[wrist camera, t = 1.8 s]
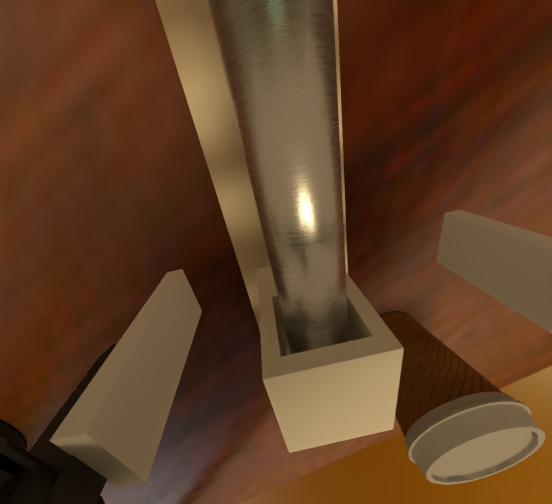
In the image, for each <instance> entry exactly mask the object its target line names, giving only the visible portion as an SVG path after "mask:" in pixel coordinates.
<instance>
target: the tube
mask: <svg viewBox="0 0 552 504" xmlns="http://www.w3.org/2000/svg"><path fill="white" fill-rule="evenodd" d="M208 4H209V8H210V13H211V17H212V21H213V25H214V30H215V34H216V38H217V42H218V46H219V51H220V55H221V59H222V63H223V68H224V72H225V76H226V80H227V84H228V89H229V93H230V97H231V101H232V106H233V110H234V114H235V118H236V122H237V127H238V131H239V135H240V139H241V144H242V148H243V152H244V156H245V160H246V165H247V169H248V173H249V177H250V182H251V186H252V190H253V194H254V198H255V203H256V207H257V211H258V215H259V220H260V224H261V228H262V232H263V236H264V241H265V245H266V249H267V253H268V258H269V262H270V266H271V270H272V274H273V279H274V283H275V287H276V291H277V296H278V300H279V304H280V308H281V312H282V317H283V321H284V325H285V329H286V334H287V338H288V342H289V346H290V350H291V354H295V353H300V352H304V351H309V350H313V349H318V348H322V347H326V346H331V345H335V344H340V343H344V342H349V335H348V313H347V291H346V269H345V247H344V226H343V204H342V182H341V160H340V138H339V116H338V94H337V73H336V51H335V29H334V7H333V0H208Z"/></svg>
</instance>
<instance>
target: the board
mask: <svg viewBox="0 0 552 504" xmlns="http://www.w3.org/2000/svg"><path fill="white" fill-rule="evenodd" d="M155 1H156V4H157V7H158V10H159V14H160V17H161V20H162V23H163V26H164V29H165V33H166V36H167V39H168V42H169V45H170V48H171V51H172V55H173V58H174V61H175V64H176V67H177V70H178V74H179V77H180V80H181V83H182V86H183V89H184V93H185V96H186V99H187V102H188V105H189V108H190V112H191V115H192V118H193V121H194V124H195V127H196V131H197V134H198V137H199V140H200V143H201V146H202V149H203V153H204V156H205V159H206V162H207V165H208V168H209V172H210V175H211V178H212V181H213V184H214V187H215V191H216V194H217V197H218V200H219V203H220V206H221V210H222V213H223V216H224V219H225V222H226V225H227V229H228V232H229V235H230V238H231V241H232V244H233V247H234V251H235V254H236V257H237V260H238V263H239V266H240V270H241V273H242V276H243V279H244V282H245V285H246V289H247V292H248V295H249V298H250V301H251V304H252V308H253V311H254V314H255V317H256V320H257V323H258V326H259V330H260V313H259V293H258V272H257V269H260V268H265V267H269V266H270V262H269V258H268V253H267V249H266V245H265V241H264V236H263V232H262V228H261V224H260V220H259V215H258V211H257V207H256V203H255V198H254V194H253V190H252V186H251V182H250V177H249V173H248V169H247V165H246V160H245V156H244V152H243V148H242V144H241V139H240V135H239V131H238V127H237V122H236V118H235V114H234V110H233V106H232V101H231V97H230V93H229V89H228V84H227V80H226V76H225V72H224V68H223V63H222V59H221V55H220V51H219V46H218V42H217V38H216V34H215V30H214V25H213V21H212V17H211V13H210V8H209V4H208V0H155ZM333 7H334V29H335V51H336V73H337V94H338V116H339V138H340V160H341V182H342V204H343V226H344V247H345V269H346V273H347V274H348V264H347V239H346V214H345V189H344V164H343V139H342V114H341V89H340V64H339V39H338V14H337V0H333Z"/></svg>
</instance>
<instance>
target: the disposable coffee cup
mask: <svg viewBox="0 0 552 504" xmlns="http://www.w3.org/2000/svg"><path fill="white" fill-rule="evenodd" d="M380 317H381V319H382V320H383V321H384V323H385V324H386V325H387V327H388V328H389V329H390V331H391V332H392V333H393V334H394V336H395V337H396V338H397V340H398V341H399V342H400V344H401V345H402V346H403V348H404V351H403V358H402V366H401V374H400V381H399V389H398V397H397V404H396V412H395V415H396V418H397V420H398V423H399V425H400V427H401V430H402V432H403V434H404V437H405V443H406V446H407V454H408V456H409V459H410V460H411V461H412V462H413V463H415V464H417V465H418V467H419V468H420V470H421V471H422V472H423V474H424V475H425V477H426V478H427V479H428V480H429V481H430V482H432V483H435V484H445V485H448V484H459V483H465V482H470V481H474V480H477V479H481V478H484V477H487V476H490V475H493V474H496V473H498V472H500V471H503V470H505V469H507V468H509V467H511V466H513V465H516V464H517V463H519V462H521V461H522V460H524V459H525V458H527V457H529V456H530V455H532V454H533V453H534V452H535V451H536V450H537V449H538V448H539V447H540V446H541V445H542V443H543V442H544V439H545V434H544V432H543V431H542V430H541V428H540V427H539V426H538V424H537V423H536V422H535V421H534V419H533V418H532V417H531V411H530V409H529V408H528V407H527V406H526V405H525V404H524V403H522V402H520V401H518V400H515V399H514V398H512V397H511V396H509V395H507V394H506V393H503V392H501V391H500V390H499V389H498V388H497V387H496V386H494V385H493V384H492V383H491V382H489V381H488V380H487V379H486V378H485V377H483V376H482V375H481V374H480V373H478V372H477V371H476V370H475V369H474V368H472V367H471V366H470V365H469V364H468V363H466V362H465V361H464V360H463V359H462V358H460V357H459V356H458V355H457V354H455V353H454V352H453V351H452V350H450V349H449V348H448V347H447V346H446V345H444V344H443V343H442V342H441V341H439V340H438V339H437V338H436V337H435V336H433V335H432V334H431V333H430V332H429V331H427V330H426V329H425V328H424V327H423V326H421V325H420V324H419V323H418V322H416V321H415V320H414V319H413V318H412V317H410V316H409V315H408V314H406V313H403V312H390V313H386V314H384V315H381V316H380Z"/></svg>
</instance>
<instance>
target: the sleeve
mask: <svg viewBox="0 0 552 504" xmlns="http://www.w3.org/2000/svg"><path fill="white" fill-rule="evenodd" d="M257 272H258V293H259V313H260V334H261V355H262V375H263V382H264V385H265V387H266V390H267V393H268V396H269V398H270V401H271V404H272V407H273V410H274V412H275V415H276V418H277V421H278V423H279V426H280V429H281V432H282V434H283V437H284V440H285V443H286V445H287V448H288V451H289V453H291V452H295V451H299V450H304V449H308V448H313V447H317V446H321V445H326V444H330V443H335V442H339V441H343V440H348V439H352V438H356V437H361V436H365V435H370V434H374V433H378V432H383V431H387V430H392V429H393V427H394V419H395V412H396V404H397V397H398V389H399V381H400V374H401V366H402V358H403V351H404V348H403V346H402V345H401V344H400V342H399V341H398V340H397V338H396V337H395V336H394V334H393V333H392V332H391V331H390V329H389V328H388V327H387V325H386V324H385V323H384V321H383V320H382V319H381V317H380V316H379V315H378V314H377V312H376V311H375V310H374V308H373V307H372V306H371V304H370V303H369V302H368V300H367V299H366V298H365V296H364V295H363V294H362V293H361V291H360V290H359V289H358V287H357V286H356V285H355V283H354V282H353V281H352V279H351V278H350V277H349V276H348V274H347V273H346V291H347V313H348V335H349V342H344V343H340V344H335V345H331V346H326V347H322V348H318V349H313V350H309V351H304V352H300V353H295V354H291V350H290V346H289V342H288V338H287V334H286V329H285V325H284V321H283V317H282V312H281V308H280V304H279V300H278V296H277V291H276V287H275V283H274V279H273V274H272V270H271V266H269V267H265V268H260V269H257Z"/></svg>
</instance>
